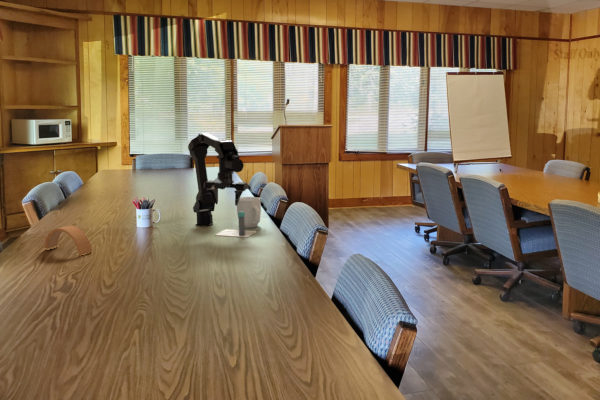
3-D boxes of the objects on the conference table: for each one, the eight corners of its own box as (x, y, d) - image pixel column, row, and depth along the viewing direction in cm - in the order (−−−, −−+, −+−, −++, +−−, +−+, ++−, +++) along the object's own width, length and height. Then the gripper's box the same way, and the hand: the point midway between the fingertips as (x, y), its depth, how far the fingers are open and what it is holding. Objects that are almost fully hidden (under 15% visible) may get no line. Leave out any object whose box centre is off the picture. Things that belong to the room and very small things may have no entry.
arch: (57, 247, 220) (54, 223, 218) (92, 253, 210) (90, 228, 209) (44, 251, 215) (42, 226, 213) (80, 257, 205) (77, 231, 204)
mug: (269, 228, 248) (269, 200, 245) (248, 231, 242) (247, 202, 239) (254, 222, 260) (253, 195, 258) (233, 225, 254) (232, 198, 252)
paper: (215, 235, 235) (215, 234, 235) (225, 229, 246) (225, 229, 246) (247, 237, 231) (247, 236, 231) (256, 231, 242) (256, 230, 242)
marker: (237, 235, 234) (237, 212, 232) (240, 234, 236) (239, 211, 235) (243, 235, 233) (243, 212, 231) (246, 234, 235) (245, 211, 234)
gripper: (197, 171, 231) (198, 207, 234) (238, 173, 226) (239, 210, 229) (208, 167, 241) (209, 202, 244) (248, 169, 236) (248, 204, 240)
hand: (226, 204), depth 239 cm, fingers open, 9 cm apart
